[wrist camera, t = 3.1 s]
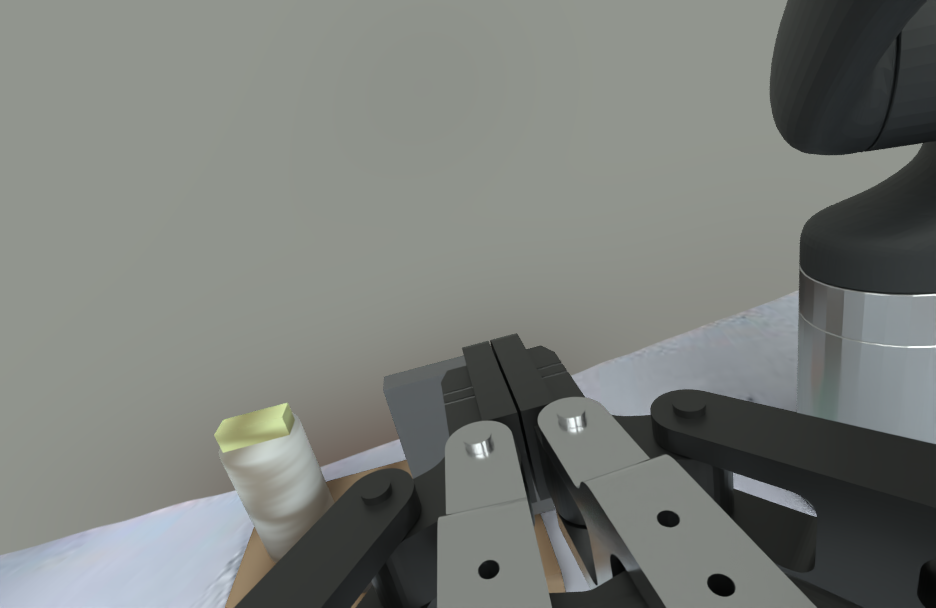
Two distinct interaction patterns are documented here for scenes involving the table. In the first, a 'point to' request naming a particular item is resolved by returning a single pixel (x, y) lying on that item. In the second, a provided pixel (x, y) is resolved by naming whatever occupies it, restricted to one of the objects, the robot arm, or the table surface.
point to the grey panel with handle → (426, 419)
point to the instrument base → (296, 492)
